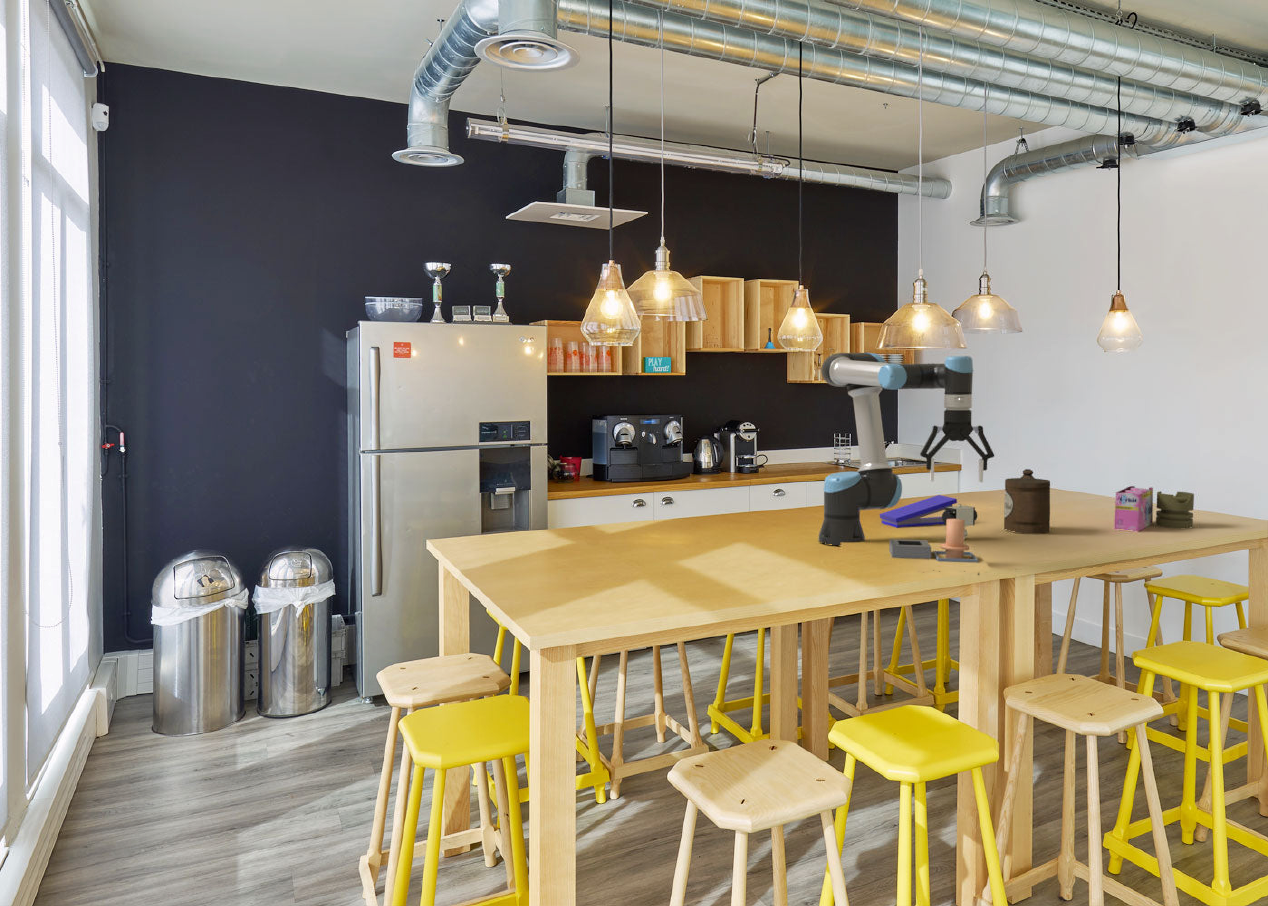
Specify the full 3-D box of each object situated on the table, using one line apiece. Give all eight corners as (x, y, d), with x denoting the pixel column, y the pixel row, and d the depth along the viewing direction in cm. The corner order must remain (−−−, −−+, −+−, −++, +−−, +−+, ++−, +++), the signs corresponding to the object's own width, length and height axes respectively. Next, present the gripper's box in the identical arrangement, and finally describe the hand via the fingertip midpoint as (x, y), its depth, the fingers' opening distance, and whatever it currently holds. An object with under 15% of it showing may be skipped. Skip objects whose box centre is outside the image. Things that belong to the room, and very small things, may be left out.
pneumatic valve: (977, 538, 288) (978, 503, 287) (951, 541, 283) (951, 506, 282) (965, 535, 293) (965, 501, 292) (939, 538, 288) (939, 504, 287)
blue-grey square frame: (937, 566, 246) (937, 558, 246) (932, 558, 257) (932, 550, 257) (977, 567, 244) (977, 559, 244) (971, 559, 254) (971, 552, 254)
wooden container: (1008, 525, 312) (1010, 466, 310) (1052, 529, 303) (1054, 468, 301) (999, 531, 300) (1001, 470, 298) (1045, 535, 291) (1047, 472, 289)
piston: (1200, 495, 300) (1166, 495, 302) (1198, 528, 301) (1164, 528, 303) (1184, 491, 311) (1151, 491, 313) (1182, 523, 312) (1150, 523, 314)
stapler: (960, 524, 318) (961, 498, 317) (896, 528, 310) (897, 502, 309) (940, 519, 329) (941, 494, 328) (878, 523, 321) (879, 498, 320)
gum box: (1129, 521, 319) (1131, 485, 318) (1153, 523, 314) (1155, 487, 312) (1113, 529, 301) (1114, 492, 300) (1138, 532, 296) (1140, 493, 295)
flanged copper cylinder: (942, 562, 247) (943, 521, 246) (938, 556, 255) (939, 517, 254) (971, 563, 246) (972, 522, 244) (966, 557, 253) (967, 518, 252)
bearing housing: (892, 562, 252) (892, 545, 251) (889, 555, 262) (889, 539, 262) (930, 563, 249) (931, 547, 249) (926, 556, 260) (926, 540, 260)
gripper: (914, 409, 245) (913, 482, 247) (1006, 409, 240) (1004, 483, 242) (911, 408, 253) (910, 479, 255) (1000, 408, 247) (998, 480, 249)
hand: (956, 481), depth 248 cm, fingers open, 13 cm apart
